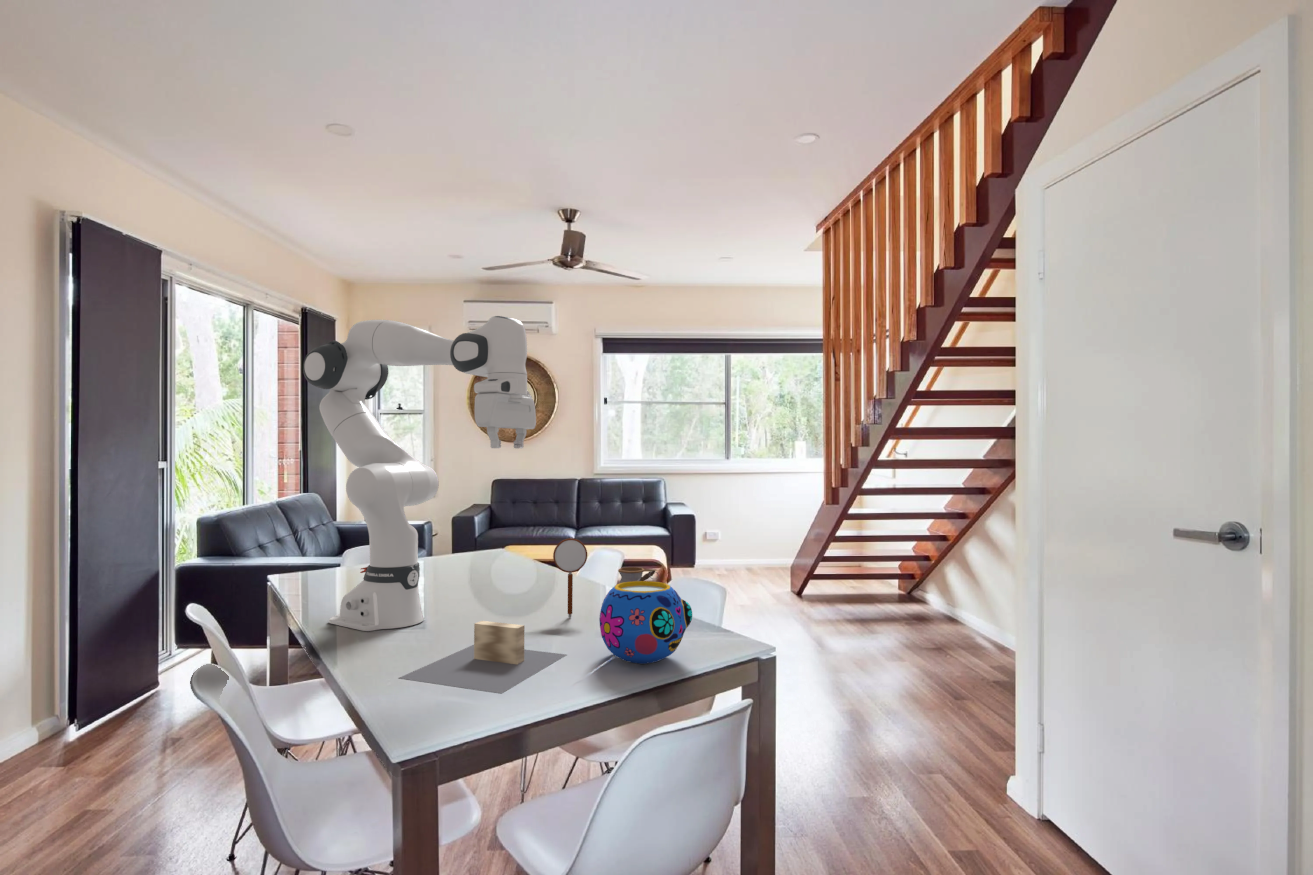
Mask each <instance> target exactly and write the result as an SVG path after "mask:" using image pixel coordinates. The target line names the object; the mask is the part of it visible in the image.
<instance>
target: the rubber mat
mask: <svg viewBox="0 0 1313 875" xmlns="http://www.w3.org/2000/svg"><path fill="white" fill-rule="evenodd" d="M566 656H567V654H565V653H564V654H563V653H558V652H557V653H556V652H550V651H540V650H532V649H525V648H524V661H523V662H521V663H519V664H510V663H502V662H495V661H487V660H479V659H474V644H472V645H470V646H467V647H465V648H463V649H460V650H458V651H456V652H454V653H452V654H451V653H450V654H449V655H447V656H445V657H443V658H441V659H438V660H436V661H434V662H433V661H432V663H429V664H426V665H424V666H421V667H420V668H418V669H415V670H413V671H411V672H409V673H407V674H404V675H402V676H400V677H398V679H401V680H406V681H415V682H420V683H428V684H434V685H440V686H447V687H453V688H455V687H456V688H459V689H460V688H461V689H467V690H475V691H481V692H486V693H493V694H505V692H507V691H509V690H510V689H512V688H514V687H516V686H517V685H519V684H521V683H522V682H524V681H525V680H527V679H529V678H531V677H532V676H534V675H535V674H538V673H539V672H540V671H542V670H545V669H546V668H548V667H549V666H551V665H553V664H554V663H556V662H557V661H559V660H561V659H564V657H566Z"/></svg>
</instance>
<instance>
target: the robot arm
mask: <svg viewBox="0 0 1313 875" xmlns="http://www.w3.org/2000/svg"><path fill="white" fill-rule="evenodd" d="M526 332H527V331H526V328H525V324H524V323H523V322H522V321H520V320H518V319H516V318H512V317H508V316H502V315H495V316H491V317H490V318H489V319H488V320H487V322H486V323H484V324H483V325H481V326H480V327H478V328H476V329H473V330H472V331H469V332H463V333H460V334H459V335H458V336H457V337H455V339H454V340H453V339H450V338H446V337H443V336H440V335H438V334H436V333H433V332H431V331H427V330H424V329H422V328H420V327H417V326H415V325H411V324H409V323H405V322H401V321H397V320H389V319H370V320H369V319H368V320H361V321H358V322H356V323H354V324H353V325H351V328H350V329H349V331H348V333H347V338H346V340H345V341H344V342H339V341H337V340H335V339H334V340H332V341H329V342H328V343H326V344H323V345H319V346H317V347H314V348H313V349H311V350H310V351H308V353H307V354H306V355H305V358H304V360H303V364H302V371H303V372H302V373H303V375H304V378H305V380H306V381H307V382H308V383H309V384H310V385H312V386H313V387H316V388H318V389H323V390H329V391H328V393H326V395H324V397H322V399H321V400H320V403H319V406H318V407H319V413H320V416H321V418H322V420H323V423H324V424H325V426H326V428H327V430H328V432H329V434H330V435H331V437H332V439H333V440H334V441H335V443H336V444H337V446H338V447H339V448H340V450H341V452H342V453H343V454H344V455H345V458H346V459H347V461H348V462H350V464H352V465H354V466H355V467H357V468H355V469H354V470H352V471H351V472H350V474H349V475H348V477H347V480H346V482H345V483H346V484H345V489H346V490H345V491H346V495H347V498H348V499H349V500H348V501H350V502H351V503H352V505H354V506H355V507H356V508H357V509H358V510H359V512H360V513H361V514H362V516H363V518H364V521H365V523H366V526H367V532H368V539H369V564H368V565H367V566H366V567H361V568H360V572H359V573H360V574H363V573H364V575H363V578H362V581H361V582H359V583H358V584H357V585H356V586H355V587H353V588H352V589H350V591H348V592H347V593H346V594H345V595H343V597H342V599H341V602H340V608H339V613H338V614H336V615H333V616H332V617H330V618H329V619H328V623H329V624H331V625H336V626H341V627H344V628H345V627H346V628H349V629H354V630H358V631H363V632H369V631H370V632H372V631H378V630H389V629H390V630H391V629H399V628H405V627H409V626H410V627H411V626H413V625H417V624H420V623H422V622H424V620H425V617H424V613H423V610H422V604H421V599H420V593H419V592H420V591H419V580H420V569H421V568H420V562H419V557H418V555H419V549H418V548H419V533H418V530H417V529H416V528H415V527H414V526H413V525H411V523H409V521H408V519H407V516H406V512H405V508H404V507H413V506H419V505H421V504H423V503H426V502H428V501H430V500H432V499H433V498H434V497H435V496H436V494H437V492H438V489H439V482H440V481H439V477H438V474H437V473H436V471H435V470H434V469H433V467H431V466H429V465H427V464H425V463H422V462H421V461H419V460H418V459H416V458H415V457H414V456H412V455H411V454H410V453H409V452H407V450H405V449H404V448H402V447H401V446H400V445H398V443H397V442H396V441H394V439H392V437H390V435H389V434H388V433H387V431H386V430H385V429H384V427H383V426H382V425H381V423H380V422H379V421H378V419H377V418H376V417H375V415H374V413H372V411H371V410H370V409H369V406H368V405H367V404H366V400H371V399H373V398H375V397H376V395H377V392H379V391H380V390H381V389H382V388H383V387H384V386H385V384H386V382H387V380H388V377H389V366H392V367H394V366H395V367H415V366H434V365H436V366H437V365H438V366H441V365H445V366H453V367H454V368H455V370H457V371H459V372H462V373H463V374H466V375H472V376H476V377H477V376H478V377H483V378H484V377H485V379H484V380H480V381H478V382H476V383H474V385H473V392H474V394H476V395H475V397H474V421H475V424H476V426H477V427H479V428H481V427H482V428H486V433H487V436H488V438H489V440H490V448H491V449H500V448H501V447H502V445H501V444H502V439H499V438H500V437H499V434H498V433H499V431H500V429H512V430H515V434H516V437H515V440H513V449H524V444H525V443H524V441H525V439H526V436H527V431H528V430H534V429H535V428H536V425H537V415H536V413H537V412H536V405H535V401H534V399H533V397H532V395H531V394H530V391H529V390H528V372H527V369H526V368H527V367H526V362H527V358H528V342H527V341H528V340H527V333H526ZM361 570H362V571H361Z"/></svg>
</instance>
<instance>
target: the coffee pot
mask: <svg viewBox="0 0 1313 875" xmlns="http://www.w3.org/2000/svg"><path fill="white" fill-rule="evenodd" d="M617 571H618V573H619V575H620V577H621V578H620V580H619V581H618V582H619V583H618V584H620V583H624V582H632V581H648V580H649V579H652V580H654V577H653V575H655V573H656V574H657V577H655V580H657V579H658V578H659V577H660V576H659V572H657V571H656V570H649V571H648V572H647V573H645V574H644V572H645V568H643V567H638V566H635V567H634V566H628V567H627V566H626V567H621V568H618V570H617ZM643 574H644V575H643ZM652 577H653V578H652Z"/></svg>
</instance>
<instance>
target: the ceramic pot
mask: <svg viewBox="0 0 1313 875" xmlns="http://www.w3.org/2000/svg"><path fill="white" fill-rule="evenodd" d="M602 601H603V602H602V603H601V607H600V612H599V620H598V621H599V628H600V629H599V630H600V635H601V638H602V640H603V643H604V645H605V646H606V648H607V650H608V651H609V652H610V653H611V654H613V656H615V657H617V658H619V659H621V660H622V661H626V662H628V663H633V664H640V665H644V664H652V663H656V662H658V661H662V660H664V659H666V658H668V657H669V656H671V655H672V654H674V653H675V652H676V650H678V649H677V648H678V647H679V646H680V644H681V642H682V639H683V636H684V634H685V632H686V629H687V628H688V627H689V626H690V625H691V622H692V620H693V610H692V607H691V605H690V604H689V603H688V602H687V601H686V600H684V599H682V597H681V596H680V595H679V594H678V592H677V591H676V590H675V589H674V588H673V587H672V586H671V585H669V584H667V583H665V582H660V581H653V580H652V581H651V580H644V581H632V582H624V583H620V584H619V583H617V584H615V585H614V586H613V587H612V588H611V589H609V591H608V592H607V594H606V595H605V597H604V599H603V600H602Z"/></svg>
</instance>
